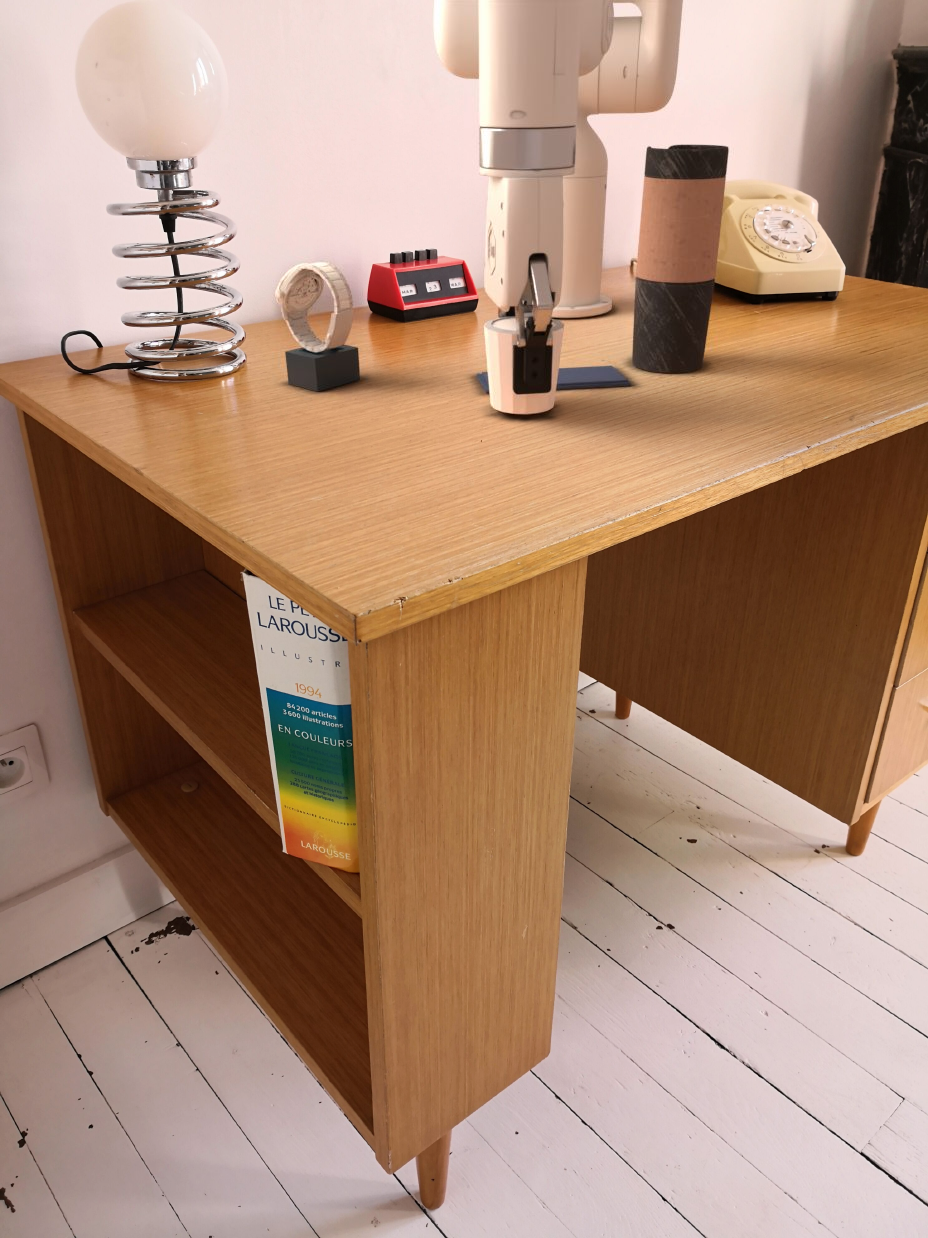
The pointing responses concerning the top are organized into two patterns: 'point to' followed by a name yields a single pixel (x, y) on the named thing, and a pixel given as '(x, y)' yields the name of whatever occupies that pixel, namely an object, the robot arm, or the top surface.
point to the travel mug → (677, 255)
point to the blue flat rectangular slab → (578, 378)
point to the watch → (315, 359)
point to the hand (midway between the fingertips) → (523, 378)
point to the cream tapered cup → (500, 367)
